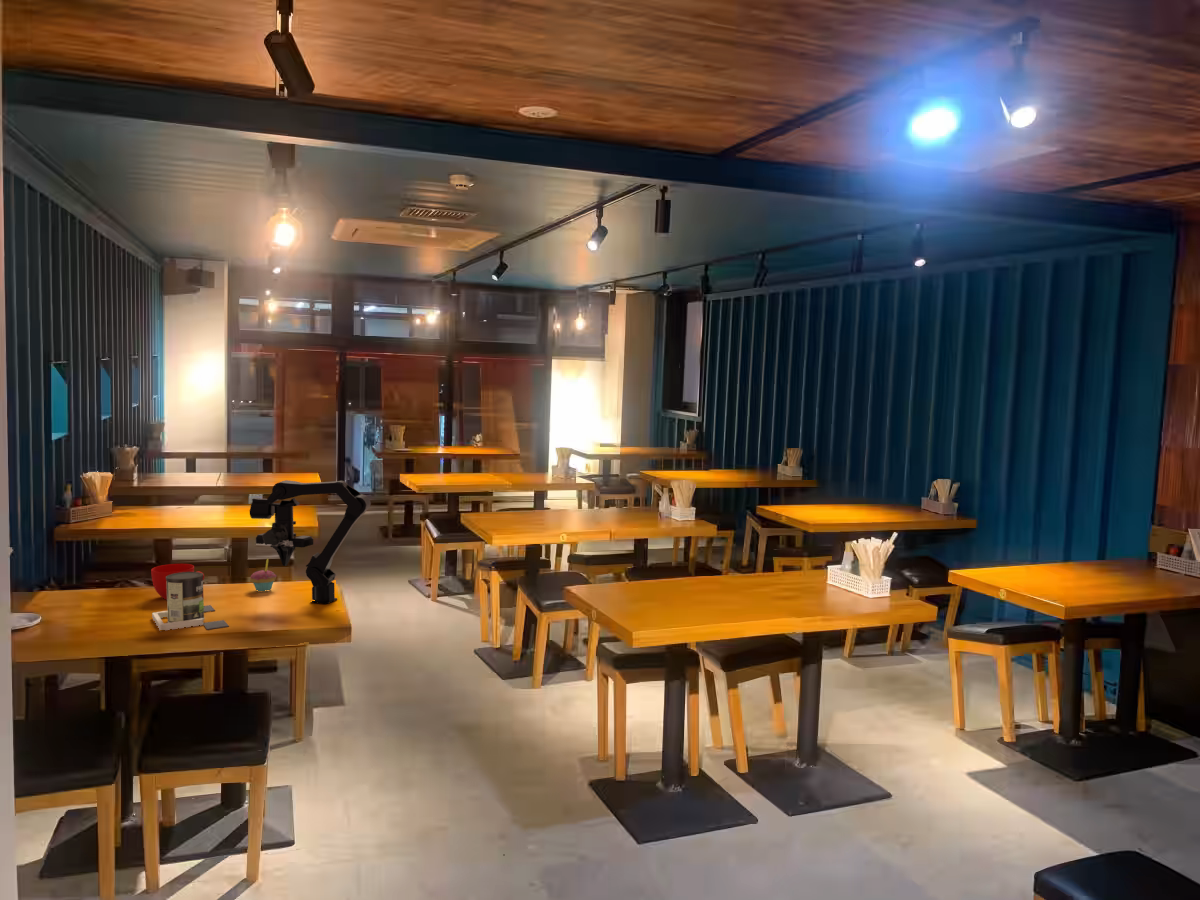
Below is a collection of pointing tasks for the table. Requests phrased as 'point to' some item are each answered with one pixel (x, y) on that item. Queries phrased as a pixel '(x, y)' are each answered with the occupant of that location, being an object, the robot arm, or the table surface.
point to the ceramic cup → (165, 570)
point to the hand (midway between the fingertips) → (284, 565)
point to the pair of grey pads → (215, 623)
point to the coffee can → (185, 596)
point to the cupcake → (263, 579)
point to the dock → (173, 625)
